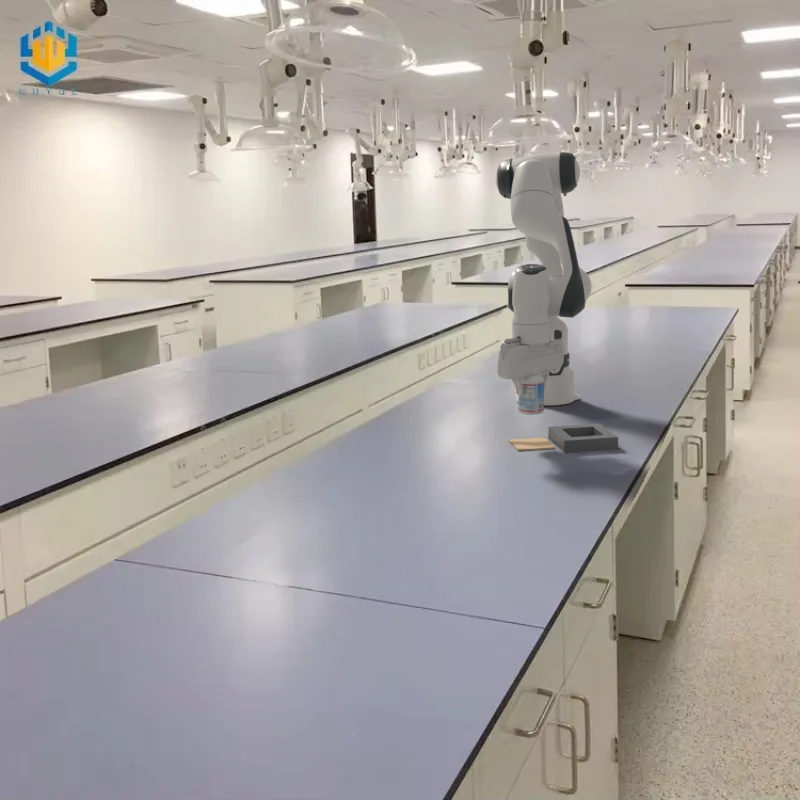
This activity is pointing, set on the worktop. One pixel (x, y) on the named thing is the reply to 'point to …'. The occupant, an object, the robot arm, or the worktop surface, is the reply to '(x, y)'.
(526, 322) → the robot arm
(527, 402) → the pill bottle
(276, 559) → the worktop surface
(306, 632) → the worktop surface
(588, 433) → the grey square bottle holder
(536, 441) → the cork pad
